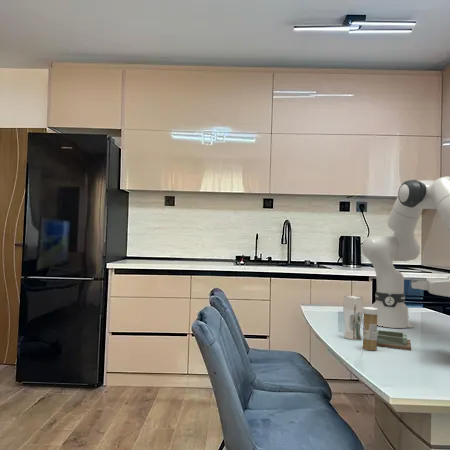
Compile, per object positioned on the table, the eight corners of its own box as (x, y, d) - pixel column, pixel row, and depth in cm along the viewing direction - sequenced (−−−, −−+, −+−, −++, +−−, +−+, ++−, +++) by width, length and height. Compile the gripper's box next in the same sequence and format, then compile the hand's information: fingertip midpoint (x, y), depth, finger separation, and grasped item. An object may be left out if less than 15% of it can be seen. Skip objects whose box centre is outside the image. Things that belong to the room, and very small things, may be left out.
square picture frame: (371, 338, 155) (371, 328, 155) (410, 342, 150) (410, 332, 150) (369, 345, 143) (369, 335, 143) (411, 350, 138) (411, 339, 138)
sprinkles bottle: (360, 347, 140) (360, 306, 140) (373, 347, 140) (374, 306, 141) (366, 350, 135) (366, 308, 136) (379, 351, 135) (380, 308, 136)
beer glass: (338, 336, 156) (339, 295, 157) (354, 335, 158) (355, 295, 159) (350, 340, 149) (351, 298, 150) (366, 340, 152) (367, 298, 152)
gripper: (456, 275, 138) (410, 272, 144) (465, 278, 120) (412, 275, 125) (456, 294, 138) (410, 291, 143) (465, 301, 119) (411, 297, 125)
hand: (411, 284), depth 134 cm, fingers open, 8 cm apart
